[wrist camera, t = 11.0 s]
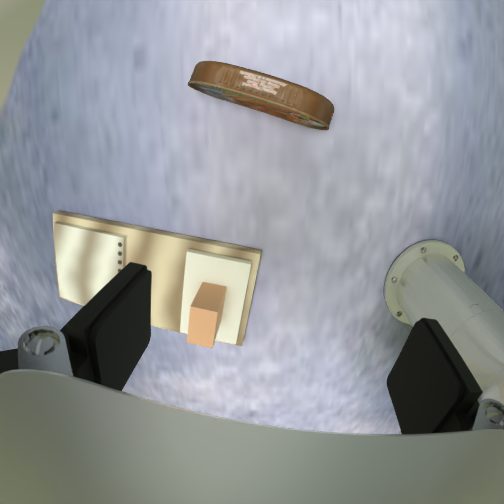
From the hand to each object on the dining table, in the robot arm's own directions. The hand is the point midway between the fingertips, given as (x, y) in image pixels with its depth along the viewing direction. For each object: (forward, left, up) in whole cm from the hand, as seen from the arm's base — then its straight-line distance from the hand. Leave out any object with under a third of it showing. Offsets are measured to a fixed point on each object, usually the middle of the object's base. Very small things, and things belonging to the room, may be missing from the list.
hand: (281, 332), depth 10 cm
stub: (+6, +15, -27) cm, 31 cm away
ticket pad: (+16, +15, -28) cm, 36 cm away
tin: (+4, -10, -29) cm, 31 cm away
